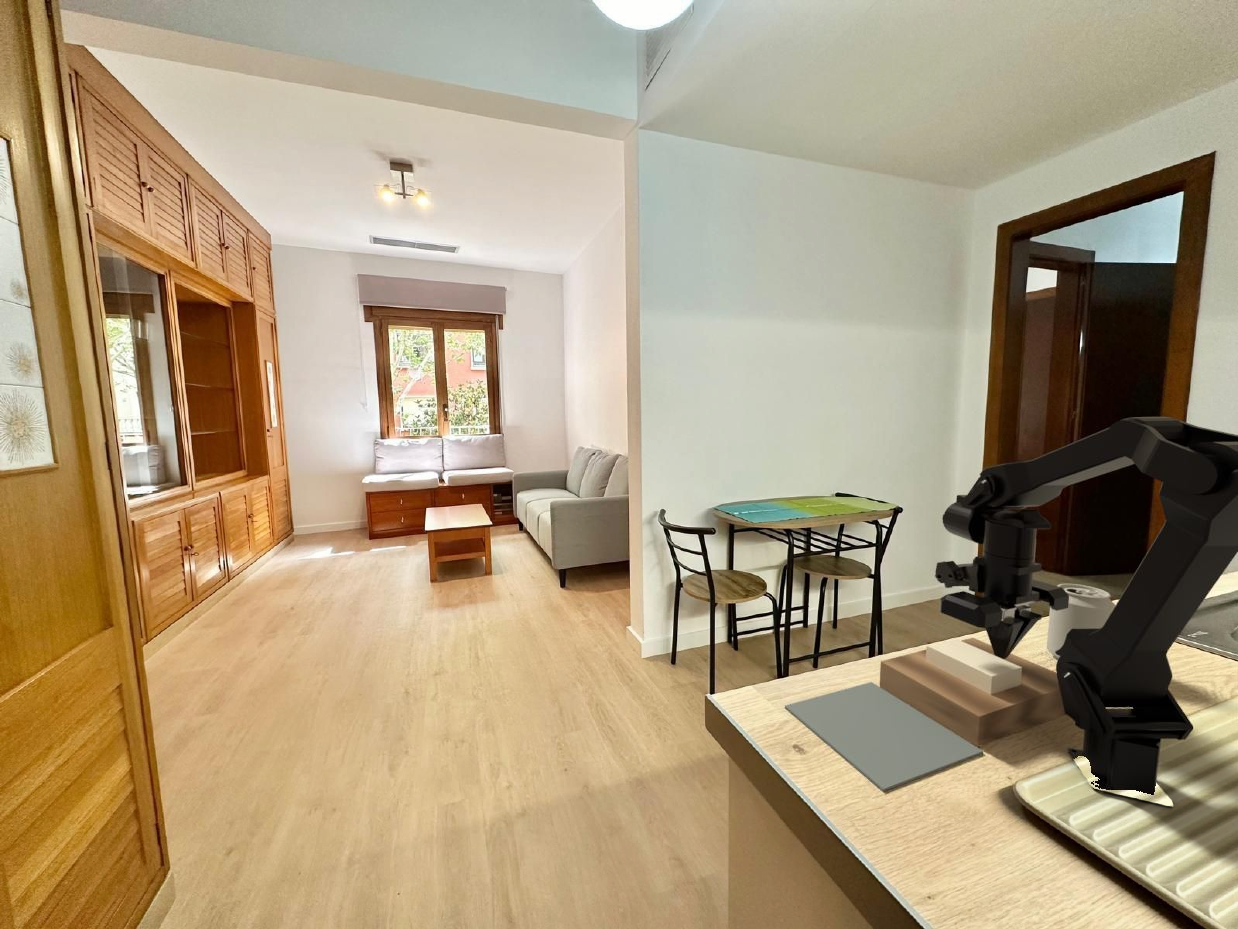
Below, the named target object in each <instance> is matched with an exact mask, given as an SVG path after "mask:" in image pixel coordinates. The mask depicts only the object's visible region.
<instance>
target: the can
mask: <svg viewBox="0 0 1238 929" xmlns="http://www.w3.org/2000/svg"><path fill="white" fill-rule="evenodd" d="M1056 586H1058V587H1062V588H1063V589H1064V590H1065V592H1066V593H1067V594H1068V595H1069V604H1068V608H1066V609H1062V610H1058V611H1056V610H1053V609H1052V608H1051V607H1050V606H1049V613H1048V614H1049V616H1048V626H1047V627H1048V628H1047V640H1046V649H1047V651H1048V653H1050V654H1051V655H1052V656H1053V657H1054V658H1055V659H1056V660H1058V659H1059V657H1060V656H1059V655H1057V654H1056V653H1055V651H1057V650H1059V649H1060V648H1061V647H1062V646H1063V644H1064V642H1065V639H1066V635H1067V633H1068V632H1069V631H1070V630H1071V629H1090V628H1102V627H1103V626H1104V624H1105V622H1106V621H1107V619H1108V617H1109V616H1110V614H1111V612H1112V611H1113V609H1114V607H1115V606H1116V604H1115V602H1114V601H1112V599H1111V594H1110V593H1109V592H1107V591H1105V590H1103V589H1100V588H1097V587H1093V586H1089V585H1084V584H1079V583H1078V584H1077V583H1060V584H1057V585H1056Z"/></svg>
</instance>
